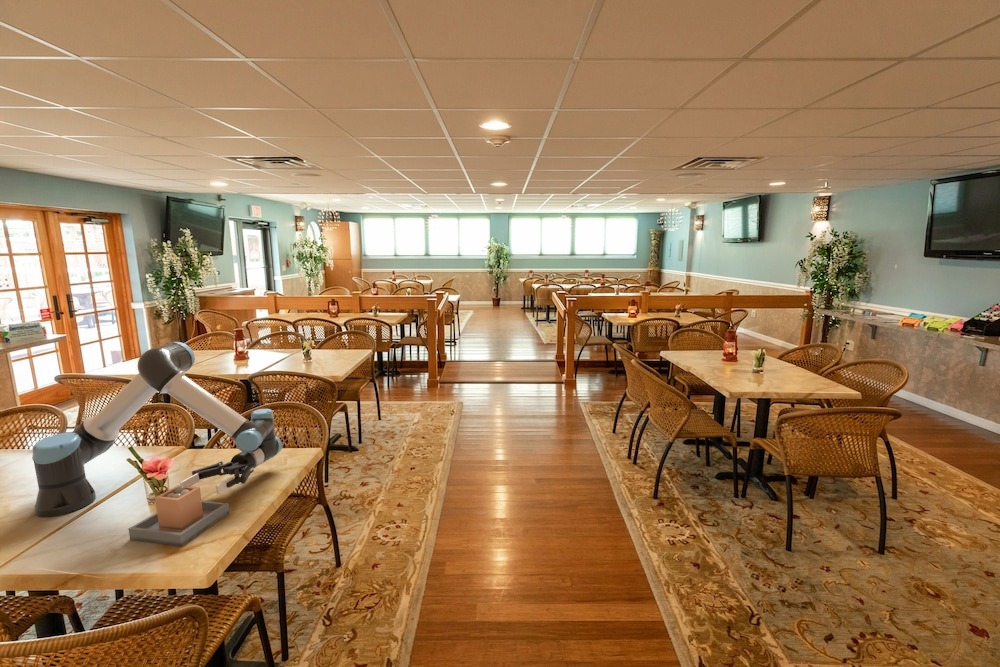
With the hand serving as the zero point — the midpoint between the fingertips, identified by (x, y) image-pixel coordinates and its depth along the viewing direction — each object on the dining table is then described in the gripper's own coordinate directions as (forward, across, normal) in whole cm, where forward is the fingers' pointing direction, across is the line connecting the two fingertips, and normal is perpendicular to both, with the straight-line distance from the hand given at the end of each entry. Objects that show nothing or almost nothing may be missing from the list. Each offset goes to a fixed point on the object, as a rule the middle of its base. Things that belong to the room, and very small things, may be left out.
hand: (199, 488), depth 152 cm
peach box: (+7, 0, -8) cm, 11 cm away
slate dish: (+7, 0, -9) cm, 11 cm away
